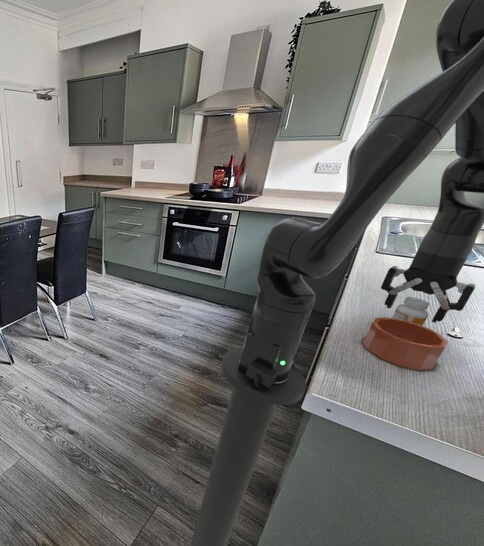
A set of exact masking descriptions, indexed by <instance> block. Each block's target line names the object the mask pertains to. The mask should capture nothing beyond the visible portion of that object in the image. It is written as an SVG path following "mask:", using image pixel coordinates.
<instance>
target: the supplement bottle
mask: <svg viewBox="0 0 484 546" xmlns="http://www.w3.org/2000/svg"><path fill="white" fill-rule="evenodd" d="M429 306H430V302H429V301H427V300H426V299H425V300H424V299H422V298H419V297H418V298H417V297H413V296H407V297H405V298H404V300H403V303H402V304H399V305H397V307H396V308H395V311H394V313H393V315H392V317H391V318H395V319H401V320H406V321H409V322H412V323H415V324H418V325H422V326H424V324H425V322H426V320H427V319H428V317H429V313H428V311H427V309H428V308H429Z"/></svg>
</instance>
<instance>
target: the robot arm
mask: <svg viewBox="0 0 484 546" xmlns="http://www.w3.org/2000/svg"><path fill="white" fill-rule="evenodd" d="M435 34H436V35H435V48H436V53H437V58H438V61H439V64H440V68H441V71H442V72H440V73H439V74H438V75H436V76H434V77H432V78H431V79H429V80H427V81H426V82H424V83H422V84H420V85H419V86H417V87H416V88H414V89H413V90H411V91H409V92H408V93H406V94H404V95H403V96H402V97H400V98H399V99H397V100H396V101H395V102H393V103H391V104H390V105H389V106H387V107H386V108H385V109H384V110H383V111H381V113H379V114H378V116H377V117H376V118H375V119H374V120H373V121H372V123H370V125H369V126H368V127H367V129H366V130H365V131H364V132H363V133H362V135H361V136H360V137H359V139H358V140H357V141H356V142H355V144H354V145H353V147H352V149H351V150H350V152H349V155H348V159H347V166H346V187H345V192H344V195H343V197H342V199H341V201H340V203H338V206H337V207H336V209H335V210H334V211H333V212H332V213H331V215H330V216H329V218H327V219H326V220H325V222H322V223H319V222H315V221H311V220H308V219H304V218H300V217H286V218H283V219H281V220H280V221H278V222H277V223H276V224H275V225H274V226H273V227H272V228H271V229H270V231H269V233H268V234H267V237H266V239H265V242H264V245H263V249H262V253H261V259H260V263H259V269H258V272H257V281H256V282H257V287H258V290H257V295H256V299H255V303H254V306H253V308H252V309H253V310H252V313H251V316H250V317H251V318H250V321H249V325H248V327H247V332H246V336H245V338H244V343H243V347H242V348H243V350H242V354H241V357H240V359H239V367H238V371H240V372H242V373H243V374H245V375H247V376H248V377H250V378H252V379H254V384H255V386H257V387H262V385H264V386H266V387H267V388H269V387H270V386H271V385H281V384H284V383H285V382H286V381H287V379H288V377H289V372H290V369H291V368H292V369H294V366H295V364H294V361H295V358H296V356H297V353H298V349H299V346H300V343H301V341H302V339H303V335H304V332H305V329H306V327H307V324H308V322H309V319H310V317H311V313H312V311H313V308H314V305H315V303H316V294H315V292H314V290H313V289H312V288H311V287H310V286H309V285H308V283H306V281H305V280H304V278H303V277H305V278H308V279H312V280H313V279H314V280H315V279H320V278H321V279H322V278H324V277H326V276H327V275H329V274H330V273H331V272H333V271H334V270H335V269H336V268H337V267H338V266H339V265H340V264H341V263H342V262H343V261H344V260H345V258H347V256H348V254H349V253H350V252H351V251H352V249H353V248H354V246H355V245H356V244H357V242H358V241H359V239H360V238H361V237H362V235H363V234H364V232H365V231H367V228H368V227H369V226H370V225H371V223H372V221H373V220H374V219H375V217H376V216H377V215H378V213H379V212H380V211H381V209H382V208H383V207H384V206H385V205H386V203H387V202H388V201H389V200H390V198H391V197H393V195H394V194H395V193H396V191H397V190H398V189H399V188H400V187H401V186H402V184H403V183H405V181H406V180H407V179H408V178H409V176H411V175H412V173H414V171H415V170H416V169H417V168H418V167H419V166H420V165H421V164H422V163H423V162H424V161H425V160H426V158H427V157H428V156H429V155H430V154H431V153H432V151H433V150H434V149H435V148H436V147H437V146H438V145H439V143H440V142H441V141H442V139H443V138H444V137H445V136H446V134H447V133H448V132H449V131H450V130H451V129H452V127H453V126H454V152H455V154H456V155H457V156H458V158H456V159H454V160H453V161H451V162H450V163H449V164H448V165H446V167H445V169H444V170H443V172H442V175H441V179H440V193H439V194H440V195H439V203H438V209H437V211H436V214H435V216H434V219H433V221H432V223H431V225H430V227H429V229H428V230H427V232H426V233H425V235H424V237H423V238H422V240H421V242H420V244H419V247H418V248H417V250H416V252H415V255H414V257H413V259H412V260H411V263H410V266H409V268H407V269H405V268H404V269H403V268H399V267H398V266H396V265H392V266H391V267H390V268H389V269H388V270H387V273H386V275H385V277H384V279H383V281H382V284H381V286H380V289H381V290H383V291H386V292H387V294H388V295H387V297H386V299H385V301H384V305H385V306H386V309H391V308H392V307H393V305H394V304H395V301H396V299H397V297H398V295H399V293H401V292H404V291H406V290H408V289H411V290H412V291H415V292H422V293H424V294H426V295H430V296H431V295H435V298H436V300H437V301H438V304H439V307H438V308H437V311H436V312H435V314H434V316H433V318H432V319H431V322H432V323H434V324H436V323H437V322H442V321H443V320H444V319H445V317H446V315H447V313H448V311H458V312H461V311H463V309H464V308H465V306H466V304H467V302H468V301H469V299H470V297H471V296H472V294H473V292H474V291H475V289H476V284H474V283H464V282H459V281H458V280H457V279H458V276H459V274H460V272H461V271H462V268H463V267H464V266H465V265H464V264H465V263H466V262H467V259H468V258H469V256H470V255H471V254H472V250H473V248H474V247H475V244H476V240H477V238H478V236H479V233H480V232H481V230H482V228H483V226H484V206H482V205H480V204H476V203H473V202H470V201H468V200H467V198H466V195H465V193H473V194H481V195H482V194H483V195H484V0H451V1H450V2H449V3H448V5H447V6H446V7H445V9H444V10H443V12H442V13H441V16H440V18H439V21H438V24H437V26H436V32H435ZM400 275H403V277H404V279H405V282H403V283H401V284H398V285H397V286H395V287H394V286H392V283H393V281H394V279H395V278H397V277H399V276H400ZM453 288H457V292H458V293H459V294H460V296H459V298H458V300H457V302H451V301H450V300H451V299H450V298H449V295H448V292H447V291H448V290H450V289H453Z"/></svg>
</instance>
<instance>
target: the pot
mask: <svg viewBox="0 0 484 546" xmlns="http://www.w3.org/2000/svg"><path fill="white" fill-rule="evenodd" d="M448 342H449V341H448V340H447V339H446V338H445V337H444V336H443V335H442V334H441V333H439V332H437V331H434V330H433V329H431V328H428V327H426V326H425V325H423V326H422V325H418V324H415V323H412V322H409V321H406V320H401V319H395V318H392V317H375V318H374V320H373V321H372V323H371V324H370V327H369V329H368V331H367V333H366V335H365V337H364V339H363V342H362V343H363V345H364V347H365V348H366V350H367V351H369V352H370V353H372V354H373V355H375V356H376V357H378V358H380V359H381V360H383V361H386V362H388V363H391V364H393V365H395V366H398V367H402V368H406V369H411V370H414V371H415V370H416V371H430V370H431V371H432V370H433V368H434V367H435V365H436V364H437V362H438V360H439V359H440V357H441V355H442V354H443V351H444V350H445V348H446V346H447V344H448Z"/></svg>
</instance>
